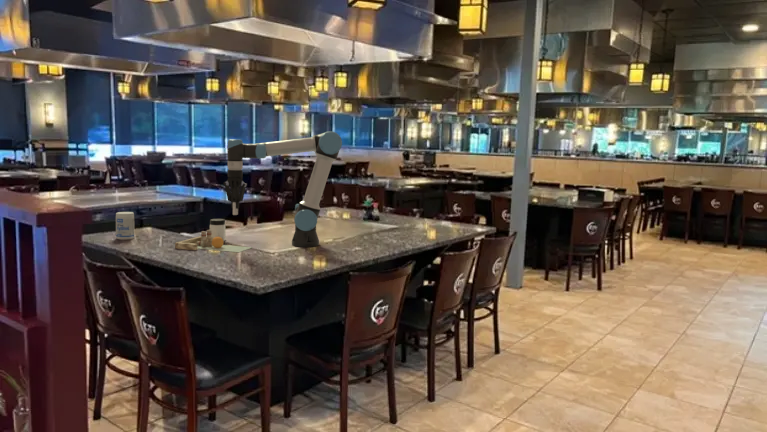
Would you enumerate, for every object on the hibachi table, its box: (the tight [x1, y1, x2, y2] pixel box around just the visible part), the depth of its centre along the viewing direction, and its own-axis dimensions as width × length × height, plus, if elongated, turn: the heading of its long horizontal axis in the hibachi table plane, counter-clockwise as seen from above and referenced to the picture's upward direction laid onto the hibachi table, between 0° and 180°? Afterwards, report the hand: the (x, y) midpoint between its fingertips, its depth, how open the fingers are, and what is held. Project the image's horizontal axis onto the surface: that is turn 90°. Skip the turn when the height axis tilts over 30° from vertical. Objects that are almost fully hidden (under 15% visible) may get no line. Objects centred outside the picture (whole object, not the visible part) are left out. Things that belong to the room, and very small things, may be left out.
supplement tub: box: [115, 211, 135, 241], centre depth 321 cm, size 10×10×15 cm
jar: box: [209, 218, 226, 242], centre depth 324 cm, size 9×8×12 cm
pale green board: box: [197, 244, 253, 253], centre depth 304 cm, size 32×14×1 cm, turn 74°
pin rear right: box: [206, 229, 211, 242], centre depth 308 cm, size 2×2×8 cm
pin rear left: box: [200, 230, 207, 247], centre depth 303 cm, size 2×2×8 cm
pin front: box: [196, 241, 213, 247], centre depth 306 cm, size 2×2×8 cm
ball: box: [212, 237, 225, 248], centre depth 303 cm, size 6×6×6 cm
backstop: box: [174, 235, 214, 251], centre depth 307 cm, size 12×22×3 cm, turn 164°
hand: (235, 214), depth 299 cm, fingers closed
